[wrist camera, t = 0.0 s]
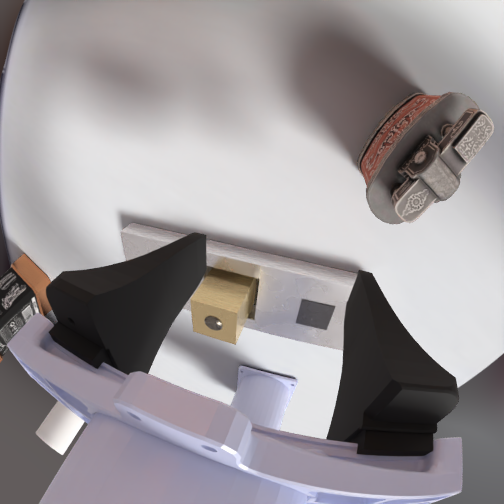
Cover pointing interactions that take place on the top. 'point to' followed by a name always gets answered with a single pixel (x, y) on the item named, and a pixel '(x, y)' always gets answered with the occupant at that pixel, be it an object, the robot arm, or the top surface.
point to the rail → (270, 286)
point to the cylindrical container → (59, 427)
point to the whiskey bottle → (21, 298)
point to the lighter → (421, 153)
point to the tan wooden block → (223, 304)
